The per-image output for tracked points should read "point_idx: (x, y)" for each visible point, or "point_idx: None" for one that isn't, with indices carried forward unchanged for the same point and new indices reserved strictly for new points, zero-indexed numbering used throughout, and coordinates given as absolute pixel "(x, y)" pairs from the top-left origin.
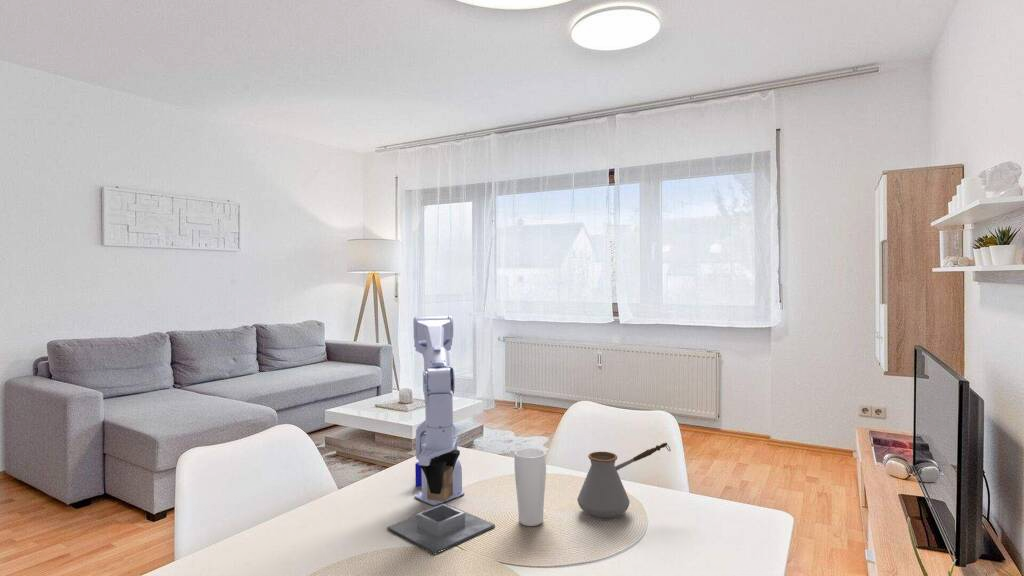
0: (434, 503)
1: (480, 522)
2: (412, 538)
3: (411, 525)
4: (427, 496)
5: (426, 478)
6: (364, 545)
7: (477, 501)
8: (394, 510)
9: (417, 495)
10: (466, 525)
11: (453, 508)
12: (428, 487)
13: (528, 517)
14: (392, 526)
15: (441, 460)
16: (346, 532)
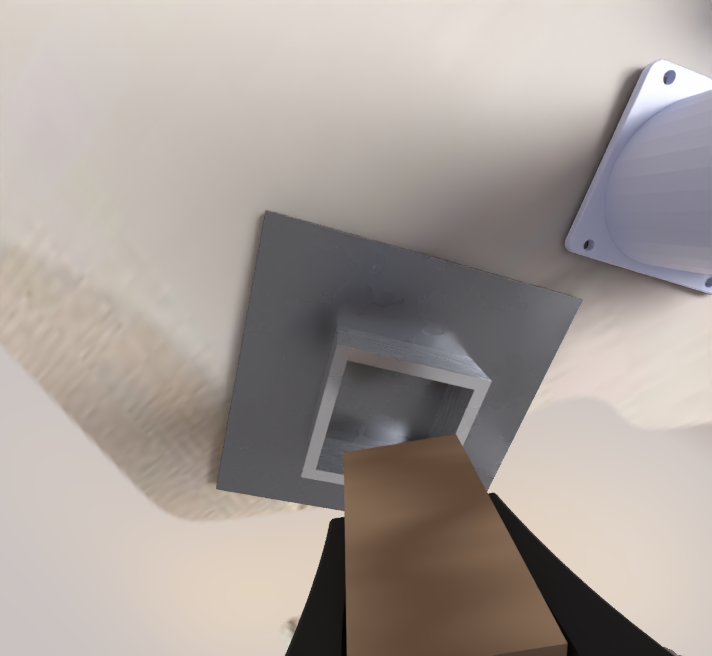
0: (574, 245)
1: None
2: (244, 376)
3: (331, 302)
4: (344, 465)
5: (295, 632)
6: (106, 224)
7: (653, 376)
8: (459, 78)
9: (656, 82)
10: None
11: None
12: (347, 520)
13: None
14: (281, 231)
15: None
16: (128, 23)
